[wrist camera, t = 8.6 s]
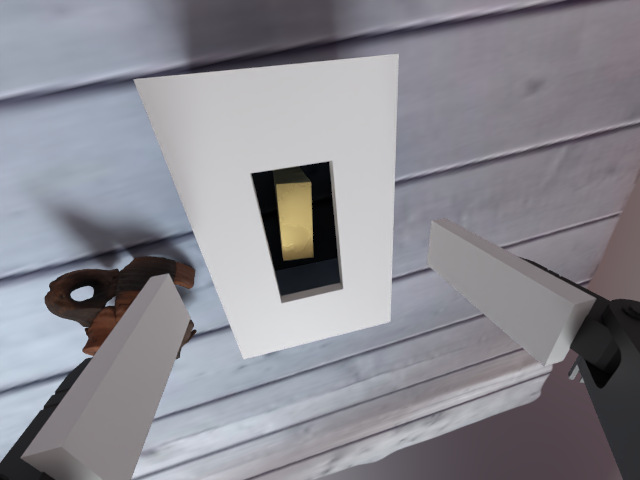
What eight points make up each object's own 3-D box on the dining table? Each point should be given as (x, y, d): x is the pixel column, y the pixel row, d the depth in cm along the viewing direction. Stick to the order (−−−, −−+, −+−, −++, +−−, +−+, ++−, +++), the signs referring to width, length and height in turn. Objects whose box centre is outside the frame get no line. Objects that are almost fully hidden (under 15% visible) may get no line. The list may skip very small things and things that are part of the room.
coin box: (249, 282, 27) (243, 359, 18) (193, 98, 19) (133, 79, 10) (351, 260, 29) (390, 321, 20) (340, 82, 20) (398, 53, 12)
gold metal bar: (278, 226, 25) (283, 260, 19) (272, 167, 22) (276, 184, 16) (301, 224, 25) (313, 257, 19) (298, 165, 23) (311, 181, 17)
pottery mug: (226, 274, 27) (208, 356, 22) (183, 296, 32) (161, 367, 27) (91, 222, 19) (20, 331, 14) (62, 261, 24) (1, 353, 19)
